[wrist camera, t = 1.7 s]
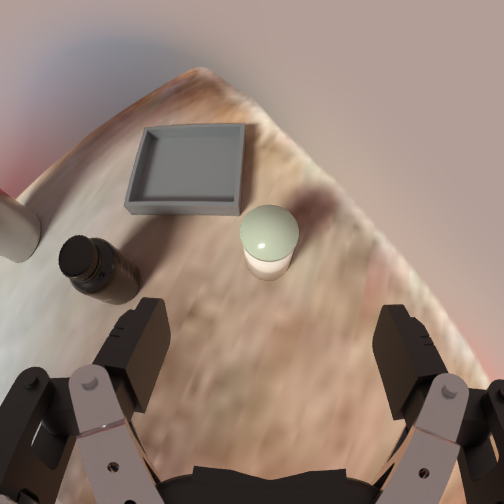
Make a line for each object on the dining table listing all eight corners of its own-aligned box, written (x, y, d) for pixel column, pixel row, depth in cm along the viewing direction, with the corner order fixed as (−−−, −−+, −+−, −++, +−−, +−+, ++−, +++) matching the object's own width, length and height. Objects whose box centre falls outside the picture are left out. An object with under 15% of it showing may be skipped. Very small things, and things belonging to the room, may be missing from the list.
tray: (131, 214, 43) (123, 205, 40) (150, 138, 47) (144, 127, 44) (239, 215, 42) (238, 206, 39) (245, 135, 46) (244, 123, 43)
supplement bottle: (109, 314, 38) (59, 299, 27) (93, 272, 40) (44, 245, 29) (150, 291, 39) (109, 267, 28) (131, 248, 41) (90, 214, 30)
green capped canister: (244, 280, 39) (238, 258, 30) (246, 237, 41) (241, 203, 31) (289, 282, 39) (298, 260, 29) (290, 239, 41) (298, 206, 31)
